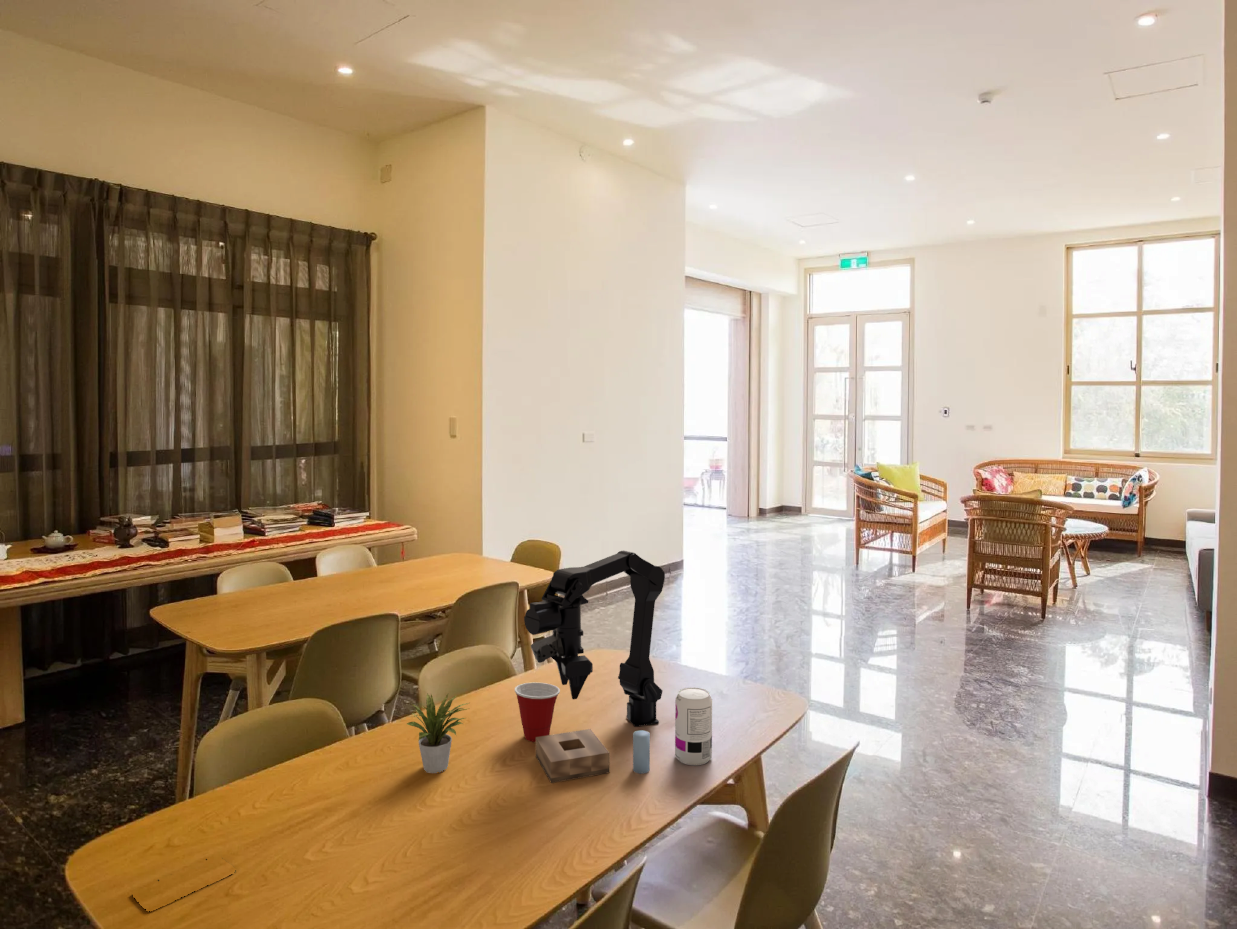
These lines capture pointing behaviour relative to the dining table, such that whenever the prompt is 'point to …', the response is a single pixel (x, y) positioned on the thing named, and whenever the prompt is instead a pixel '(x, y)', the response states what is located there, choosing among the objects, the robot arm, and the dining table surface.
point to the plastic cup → (536, 708)
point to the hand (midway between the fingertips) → (569, 691)
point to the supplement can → (693, 726)
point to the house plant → (436, 734)
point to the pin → (641, 752)
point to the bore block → (572, 755)
